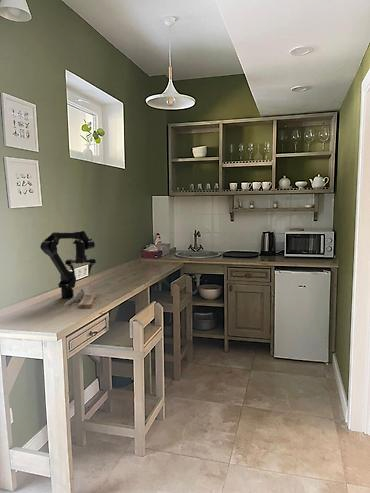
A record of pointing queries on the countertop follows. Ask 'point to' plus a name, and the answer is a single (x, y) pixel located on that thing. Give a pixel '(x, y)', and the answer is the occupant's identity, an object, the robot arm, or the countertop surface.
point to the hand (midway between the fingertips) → (81, 274)
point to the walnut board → (87, 301)
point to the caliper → (75, 297)
